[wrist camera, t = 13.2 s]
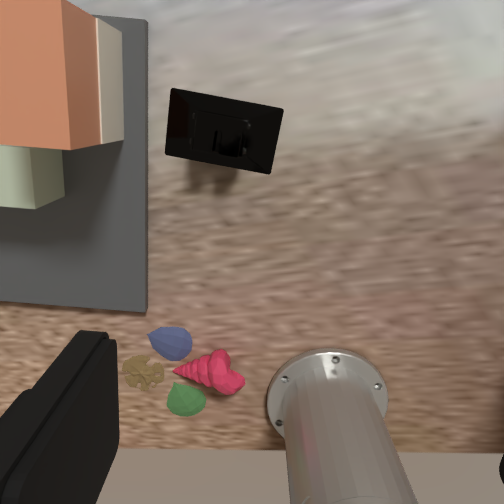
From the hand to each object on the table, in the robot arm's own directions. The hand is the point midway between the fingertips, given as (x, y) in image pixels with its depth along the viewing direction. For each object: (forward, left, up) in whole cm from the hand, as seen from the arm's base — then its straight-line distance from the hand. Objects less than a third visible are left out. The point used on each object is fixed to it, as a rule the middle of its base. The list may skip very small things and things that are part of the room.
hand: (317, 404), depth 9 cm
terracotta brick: (+7, +15, -22) cm, 28 cm away
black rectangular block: (+4, +5, -29) cm, 30 cm away
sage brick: (0, +22, -27) cm, 35 cm away
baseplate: (0, +19, -28) cm, 34 cm away
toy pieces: (-20, +8, -29) cm, 36 cm away
